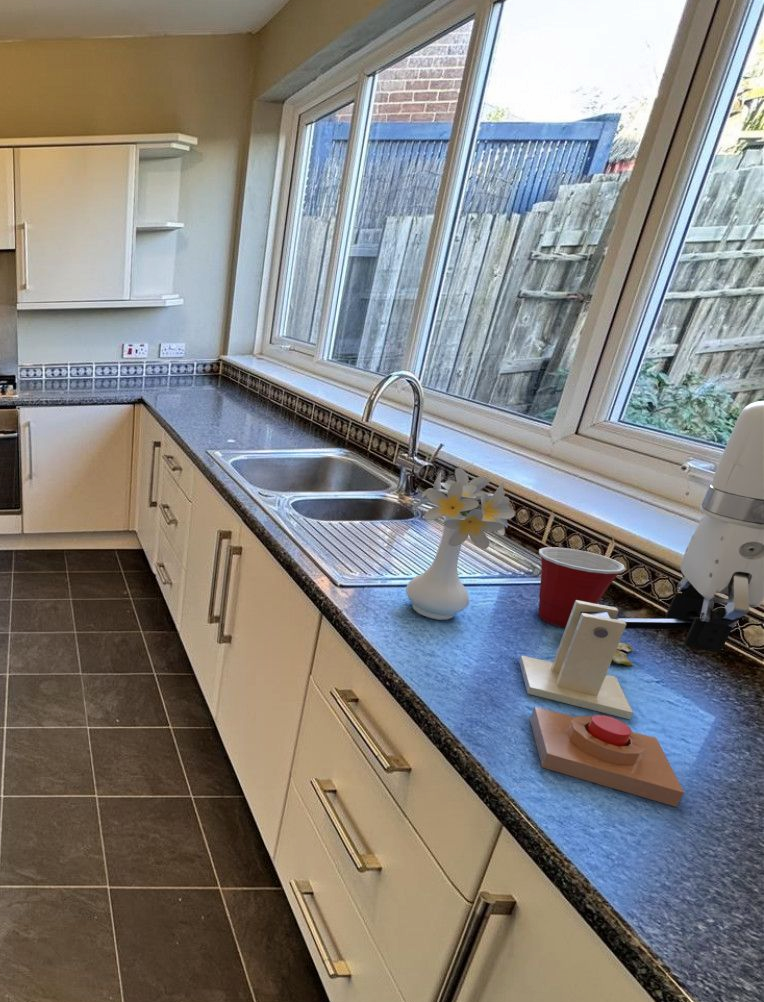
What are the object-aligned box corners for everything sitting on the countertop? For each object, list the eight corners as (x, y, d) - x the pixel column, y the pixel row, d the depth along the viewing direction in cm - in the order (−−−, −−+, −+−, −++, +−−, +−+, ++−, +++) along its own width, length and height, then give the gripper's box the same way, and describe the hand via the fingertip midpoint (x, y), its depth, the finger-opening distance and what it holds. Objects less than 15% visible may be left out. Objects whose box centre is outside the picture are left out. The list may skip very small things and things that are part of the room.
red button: (622, 732, 75) (627, 720, 75) (630, 750, 73) (635, 739, 72) (584, 722, 77) (588, 710, 76) (590, 739, 74) (595, 728, 74)
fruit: (632, 671, 92) (641, 650, 91) (560, 650, 98) (567, 630, 96) (631, 647, 98) (639, 627, 97) (563, 628, 103) (570, 609, 102)
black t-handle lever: (702, 623, 81) (702, 607, 80) (716, 642, 77) (717, 625, 76) (578, 622, 88) (578, 607, 87) (586, 639, 84) (585, 623, 83)
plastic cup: (589, 611, 108) (612, 549, 104) (610, 642, 99) (637, 576, 95) (513, 598, 113) (532, 538, 108) (526, 627, 104) (548, 563, 100)
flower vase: (413, 637, 102) (449, 495, 92) (380, 585, 118) (408, 460, 109) (503, 647, 99) (551, 501, 89) (456, 592, 115) (492, 464, 106)
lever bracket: (613, 683, 90) (644, 607, 85) (630, 719, 83) (666, 638, 78) (518, 661, 95) (543, 588, 90) (527, 693, 88) (554, 616, 83)
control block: (650, 751, 77) (662, 726, 76) (677, 807, 69) (690, 780, 68) (529, 719, 83) (538, 695, 82) (541, 767, 75) (551, 741, 74)
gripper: (836, 538, 65) (762, 679, 71) (762, 489, 78) (706, 612, 85) (734, 525, 68) (673, 660, 75) (681, 481, 82) (633, 598, 89)
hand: (691, 633), depth 80 cm, fingers open, 6 cm apart
